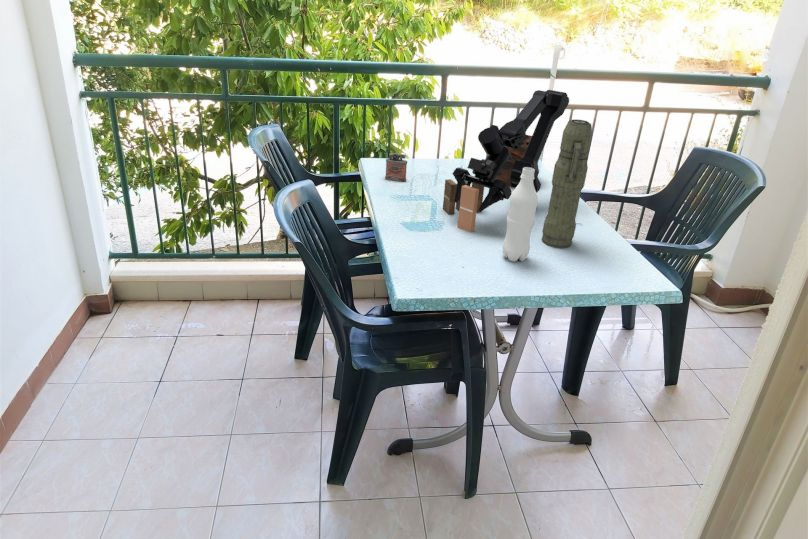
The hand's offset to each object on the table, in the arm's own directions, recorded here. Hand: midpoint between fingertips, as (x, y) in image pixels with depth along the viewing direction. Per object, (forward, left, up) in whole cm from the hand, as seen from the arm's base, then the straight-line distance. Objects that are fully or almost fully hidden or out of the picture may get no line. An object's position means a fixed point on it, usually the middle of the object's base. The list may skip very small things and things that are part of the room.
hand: (467, 206), depth 166 cm
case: (-3, -54, -8) cm, 55 cm away
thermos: (-27, -4, -8) cm, 28 cm away
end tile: (0, -1, -7) cm, 7 cm away
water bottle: (-18, +13, -8) cm, 23 cm away
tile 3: (+9, -12, -7) cm, 17 cm away
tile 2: (+5, -15, -7) cm, 17 cm away
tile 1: (+2, -18, -7) cm, 20 cm away
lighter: (+36, -33, -8) cm, 50 cm away
